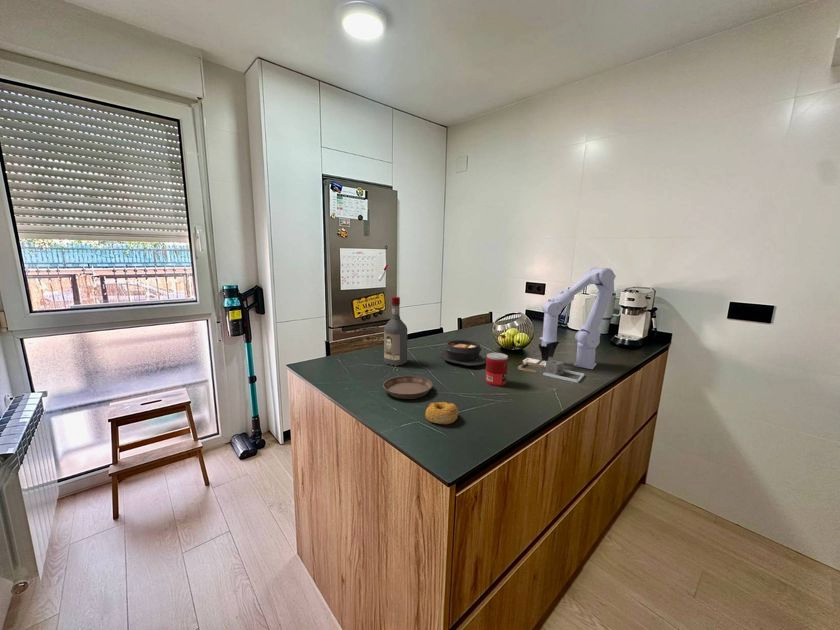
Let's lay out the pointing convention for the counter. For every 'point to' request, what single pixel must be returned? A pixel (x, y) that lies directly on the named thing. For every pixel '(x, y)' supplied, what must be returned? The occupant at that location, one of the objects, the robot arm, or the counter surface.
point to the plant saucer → (407, 387)
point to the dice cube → (554, 367)
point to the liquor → (395, 337)
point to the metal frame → (566, 377)
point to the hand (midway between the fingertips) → (547, 358)
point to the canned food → (496, 369)
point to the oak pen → (529, 369)
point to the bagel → (441, 413)
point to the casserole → (463, 353)
